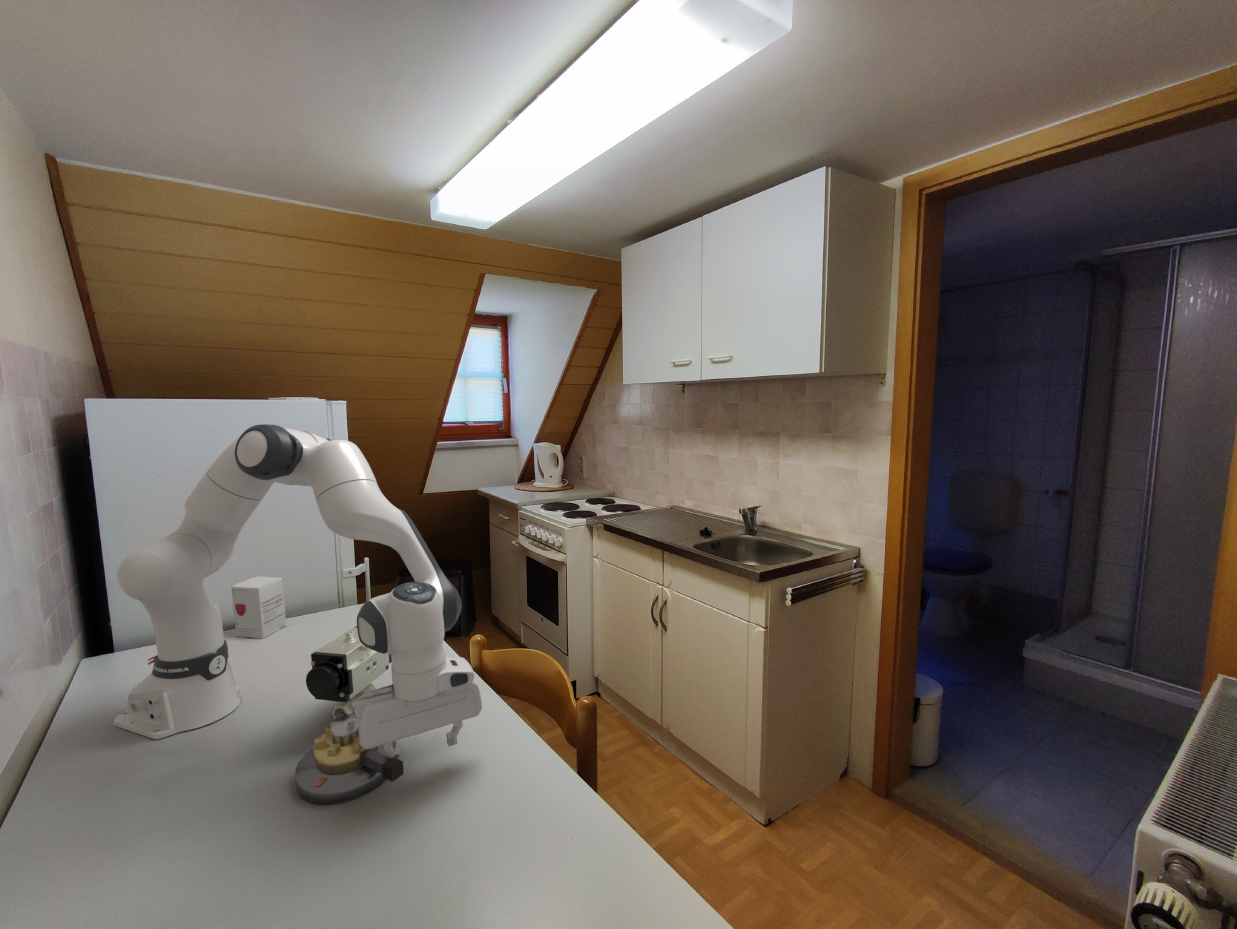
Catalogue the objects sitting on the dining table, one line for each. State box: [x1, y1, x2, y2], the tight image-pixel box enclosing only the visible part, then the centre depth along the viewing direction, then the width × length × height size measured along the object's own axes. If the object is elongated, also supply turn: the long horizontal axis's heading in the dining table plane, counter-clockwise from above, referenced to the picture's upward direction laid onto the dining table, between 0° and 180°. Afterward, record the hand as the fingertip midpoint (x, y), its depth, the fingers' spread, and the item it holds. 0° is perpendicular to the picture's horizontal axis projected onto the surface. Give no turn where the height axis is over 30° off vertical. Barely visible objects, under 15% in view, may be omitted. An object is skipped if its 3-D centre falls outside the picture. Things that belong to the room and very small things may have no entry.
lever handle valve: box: [313, 723, 405, 782], centre depth 94 cm, size 18×10×4 cm, turn 60°
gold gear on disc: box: [294, 714, 397, 806], centre depth 97 cm, size 16×16×10 cm
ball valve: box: [305, 625, 392, 720], centre depth 114 cm, size 18×8×18 cm, turn 168°
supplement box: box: [230, 576, 287, 640], centre depth 156 cm, size 9×9×15 cm
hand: (424, 752), depth 96 cm, fingers open, 8 cm apart
